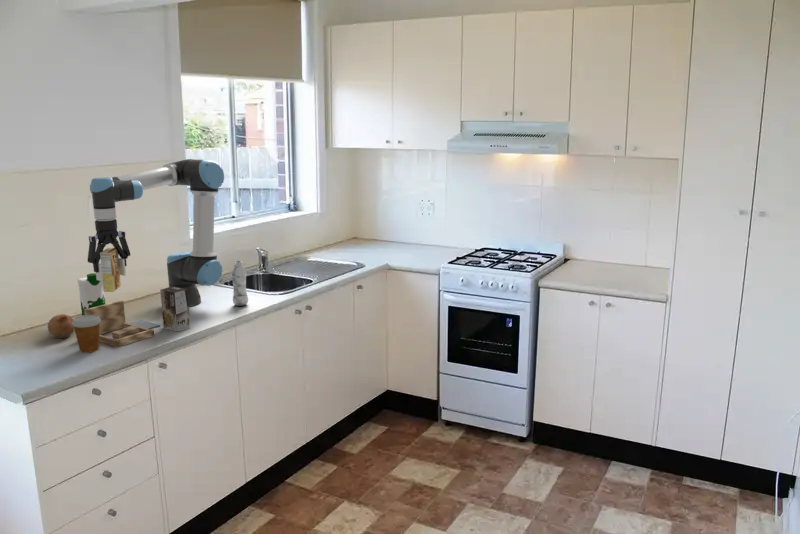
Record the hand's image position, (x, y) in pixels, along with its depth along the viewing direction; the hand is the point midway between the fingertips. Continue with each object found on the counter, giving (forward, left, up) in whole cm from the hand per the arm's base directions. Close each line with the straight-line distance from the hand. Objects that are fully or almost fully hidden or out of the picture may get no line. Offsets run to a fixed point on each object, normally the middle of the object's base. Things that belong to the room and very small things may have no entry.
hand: (111, 277), depth 259 cm
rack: (0, +3, -23) cm, 23 cm away
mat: (-12, -1, -23) cm, 26 cm away
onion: (+13, -15, -23) cm, 31 cm away
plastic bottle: (-56, +9, -23) cm, 61 cm away
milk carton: (-6, -24, -23) cm, 34 cm away
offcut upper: (+1, +8, -21) cm, 23 cm away
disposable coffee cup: (+16, +7, -23) cm, 29 cm away
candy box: (0, 0, -5) cm, 5 cm away
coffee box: (-19, +12, -23) cm, 32 cm away
